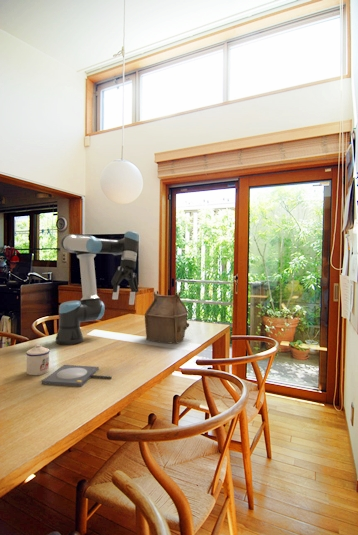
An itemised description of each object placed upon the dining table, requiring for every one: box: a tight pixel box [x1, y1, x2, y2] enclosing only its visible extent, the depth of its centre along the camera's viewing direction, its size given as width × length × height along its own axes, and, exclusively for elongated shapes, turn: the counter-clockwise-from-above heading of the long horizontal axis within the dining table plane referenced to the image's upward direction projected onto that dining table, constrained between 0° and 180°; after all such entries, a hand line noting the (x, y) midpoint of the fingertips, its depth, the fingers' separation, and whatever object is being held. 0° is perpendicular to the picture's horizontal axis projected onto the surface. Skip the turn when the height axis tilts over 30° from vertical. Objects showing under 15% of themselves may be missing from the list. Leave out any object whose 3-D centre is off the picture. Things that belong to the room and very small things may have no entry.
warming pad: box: [41, 364, 113, 387], centre depth 123 cm, size 25×18×2 cm
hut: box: [144, 290, 190, 345], centre depth 185 cm, size 23×27×30 cm
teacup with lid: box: [26, 344, 51, 376], centre depth 129 cm, size 12×9×12 cm
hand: (123, 302), depth 146 cm, fingers open, 13 cm apart
